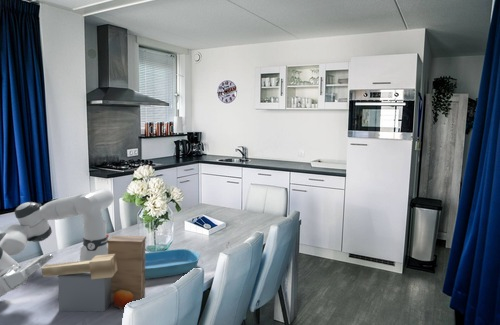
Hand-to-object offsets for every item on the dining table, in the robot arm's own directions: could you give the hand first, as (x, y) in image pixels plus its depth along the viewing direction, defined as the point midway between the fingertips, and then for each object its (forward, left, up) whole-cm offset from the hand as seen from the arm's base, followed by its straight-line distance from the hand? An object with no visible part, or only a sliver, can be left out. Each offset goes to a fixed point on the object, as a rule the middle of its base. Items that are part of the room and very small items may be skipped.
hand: (46, 260), depth 145 cm
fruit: (-2, +30, -20) cm, 36 cm away
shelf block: (-11, +29, -20) cm, 37 cm away
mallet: (-2, +13, -3) cm, 14 cm away
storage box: (-1, +15, -20) cm, 25 cm away
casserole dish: (-40, +40, -20) cm, 60 cm away
